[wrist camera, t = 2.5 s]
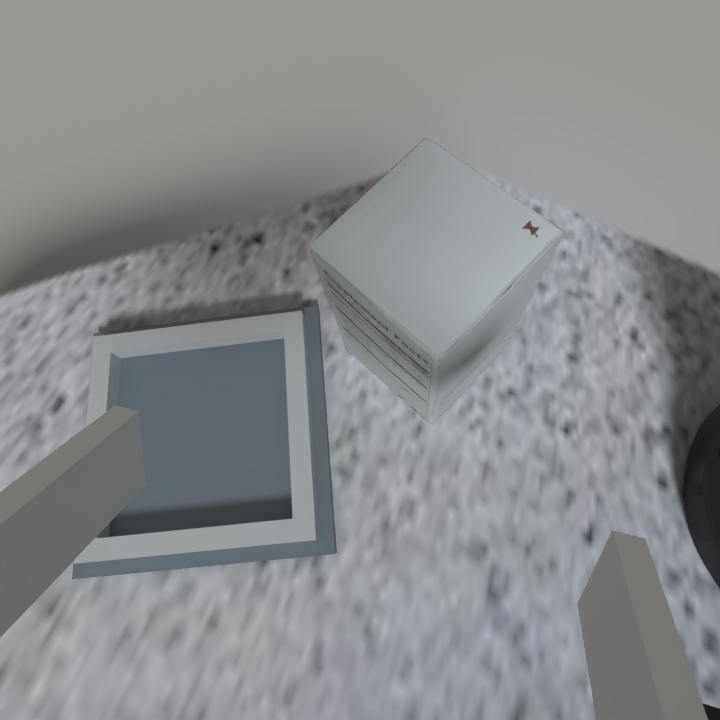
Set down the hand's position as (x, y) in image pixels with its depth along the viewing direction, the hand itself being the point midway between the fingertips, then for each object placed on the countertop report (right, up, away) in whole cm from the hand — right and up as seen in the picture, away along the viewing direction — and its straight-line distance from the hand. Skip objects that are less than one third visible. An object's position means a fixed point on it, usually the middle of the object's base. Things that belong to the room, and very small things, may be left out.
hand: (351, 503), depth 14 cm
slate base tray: (-9, -1, +17) cm, 19 cm away
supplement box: (+4, +5, +18) cm, 19 cm away
